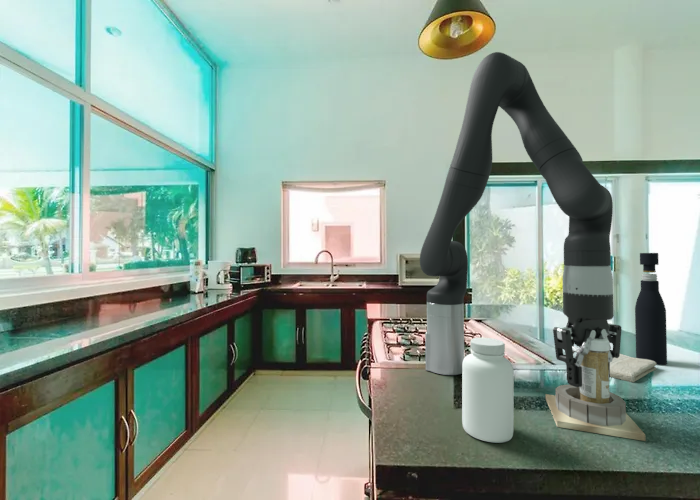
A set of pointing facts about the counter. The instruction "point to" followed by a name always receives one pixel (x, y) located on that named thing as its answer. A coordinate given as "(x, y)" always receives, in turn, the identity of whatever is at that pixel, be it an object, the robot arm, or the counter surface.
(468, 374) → the pill bottle
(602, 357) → the sprinkles bottle
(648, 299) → the black bottle
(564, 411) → the collar
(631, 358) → the washcloth
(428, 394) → the counter surface
